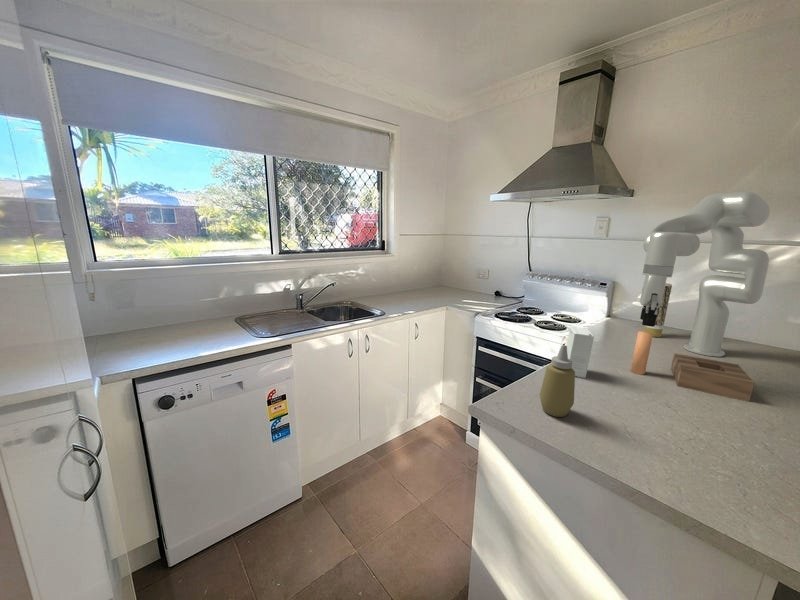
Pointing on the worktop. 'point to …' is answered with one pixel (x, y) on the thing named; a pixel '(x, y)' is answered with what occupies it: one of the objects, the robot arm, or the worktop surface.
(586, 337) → the skincare box
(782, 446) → the worktop surface
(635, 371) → the peg
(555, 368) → the squeeze bottle
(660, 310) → the brown textured cylinder
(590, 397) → the worktop surface
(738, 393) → the socket block
